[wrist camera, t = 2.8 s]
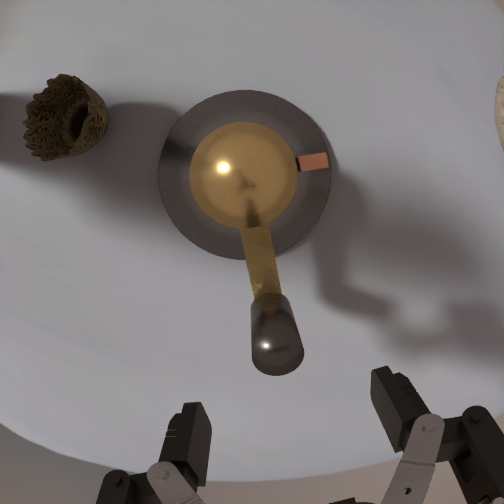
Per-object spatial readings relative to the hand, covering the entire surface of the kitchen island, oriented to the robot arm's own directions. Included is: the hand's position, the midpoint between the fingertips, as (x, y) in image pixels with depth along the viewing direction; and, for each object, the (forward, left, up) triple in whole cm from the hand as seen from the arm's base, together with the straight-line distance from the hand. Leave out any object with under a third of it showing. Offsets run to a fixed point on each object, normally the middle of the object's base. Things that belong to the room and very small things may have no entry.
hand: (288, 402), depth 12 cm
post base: (0, +10, -18) cm, 21 cm away
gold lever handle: (0, +6, -12) cm, 13 cm away
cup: (-14, +19, -18) cm, 30 cm away
